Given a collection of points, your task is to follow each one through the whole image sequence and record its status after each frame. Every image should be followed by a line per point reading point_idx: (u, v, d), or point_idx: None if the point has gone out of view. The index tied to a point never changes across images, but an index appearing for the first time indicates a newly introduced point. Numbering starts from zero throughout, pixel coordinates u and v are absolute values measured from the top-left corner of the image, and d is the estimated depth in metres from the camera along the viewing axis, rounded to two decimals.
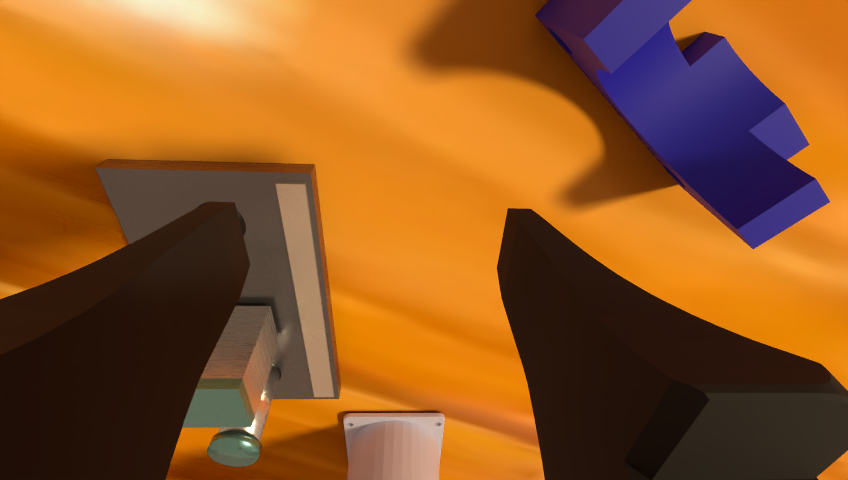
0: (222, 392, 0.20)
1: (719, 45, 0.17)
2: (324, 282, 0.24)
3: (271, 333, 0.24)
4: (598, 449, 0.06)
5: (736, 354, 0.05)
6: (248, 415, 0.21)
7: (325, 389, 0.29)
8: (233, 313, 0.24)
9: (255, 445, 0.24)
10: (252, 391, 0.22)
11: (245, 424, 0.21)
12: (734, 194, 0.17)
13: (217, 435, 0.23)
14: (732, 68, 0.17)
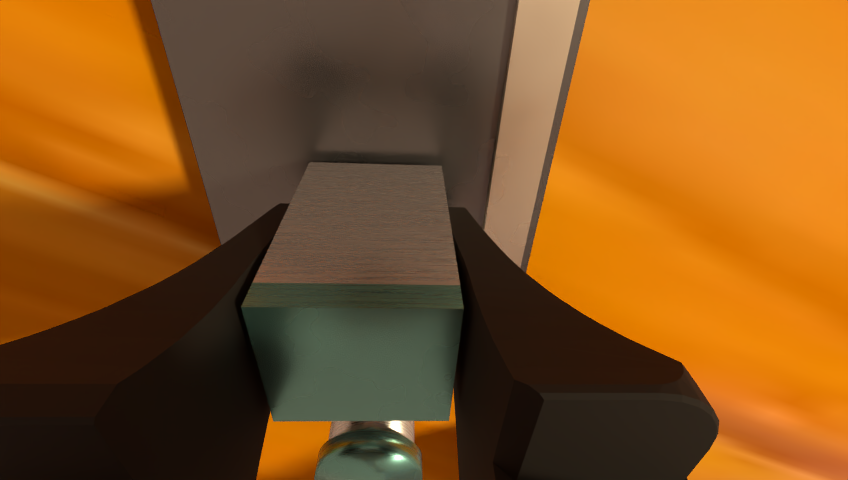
0: (414, 319, 0.07)
1: None
2: (562, 111, 0.11)
3: None
4: (481, 450, 0.06)
5: (601, 354, 0.05)
6: (451, 389, 0.08)
7: None
8: (370, 173, 0.11)
9: (418, 462, 0.11)
10: None
11: (437, 413, 0.08)
12: None
13: (338, 440, 0.10)
14: None
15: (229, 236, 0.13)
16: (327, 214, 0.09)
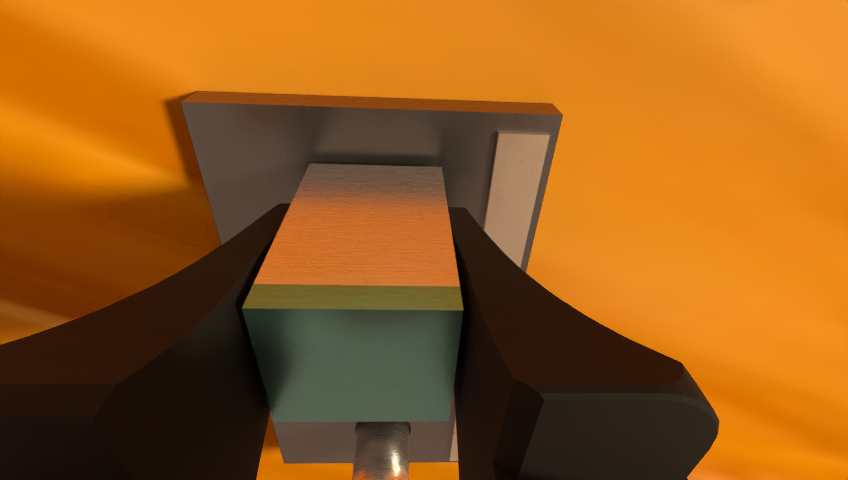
0: (413, 320, 0.07)
1: None
2: None
3: None
4: (482, 450, 0.06)
5: (602, 354, 0.05)
6: (451, 389, 0.08)
7: None
8: (370, 175, 0.11)
9: None
10: None
11: (437, 413, 0.09)
12: None
13: None
14: None
15: None
16: (327, 216, 0.09)
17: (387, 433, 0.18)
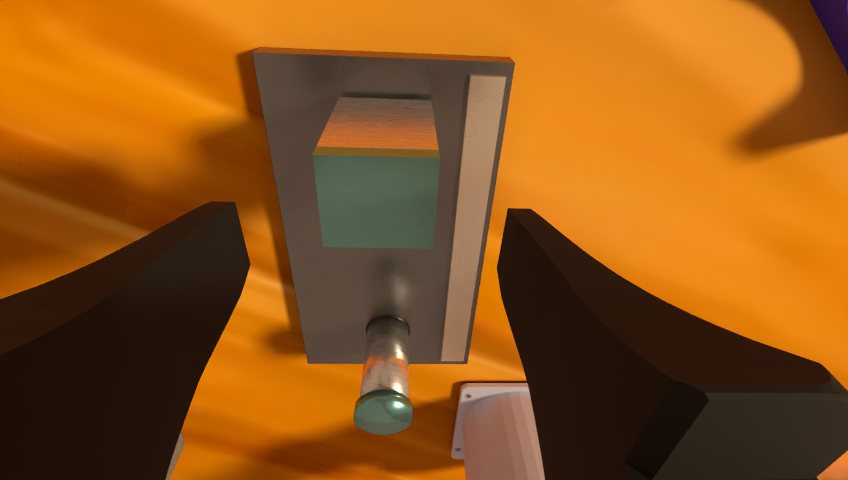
0: (411, 165, 0.12)
1: None
2: (490, 214, 0.20)
3: None
4: (598, 449, 0.06)
5: (736, 354, 0.05)
6: (434, 224, 0.13)
7: (456, 351, 0.25)
8: (381, 103, 0.16)
9: (410, 408, 0.20)
10: None
11: (426, 242, 0.13)
12: None
13: (367, 395, 0.19)
14: None
15: (299, 279, 0.22)
16: (355, 121, 0.14)
17: (391, 327, 0.23)
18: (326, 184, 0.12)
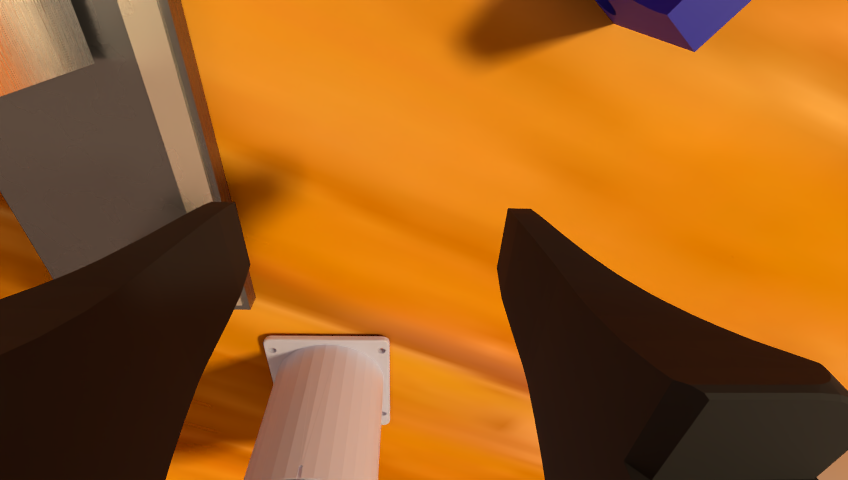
0: None
1: None
2: (200, 121, 0.18)
3: (61, 16, 0.14)
4: (598, 449, 0.06)
5: (736, 354, 0.05)
6: None
7: None
8: None
9: None
10: None
11: None
12: None
13: None
14: None
15: (14, 203, 0.20)
16: None
17: None
18: None
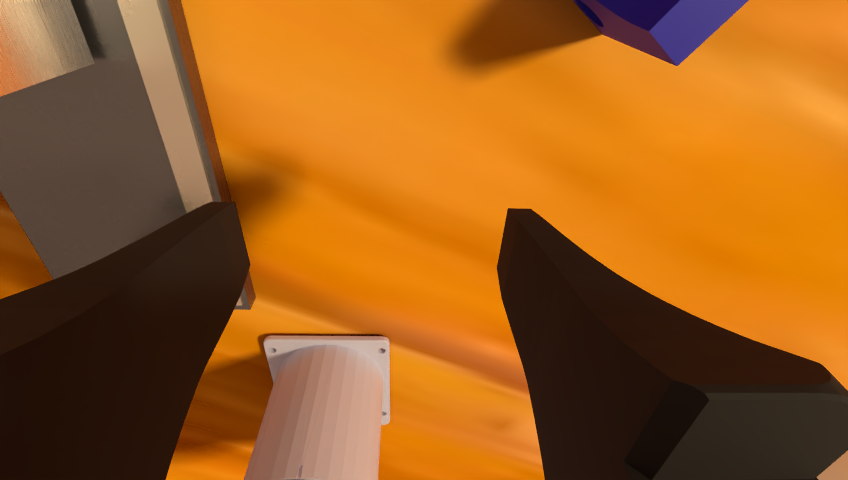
0: None
1: None
2: (200, 121, 0.18)
3: (61, 16, 0.14)
4: (598, 449, 0.06)
5: (736, 354, 0.05)
6: None
7: None
8: None
9: None
10: None
11: None
12: None
13: None
14: None
15: (14, 203, 0.20)
16: None
17: None
18: None
